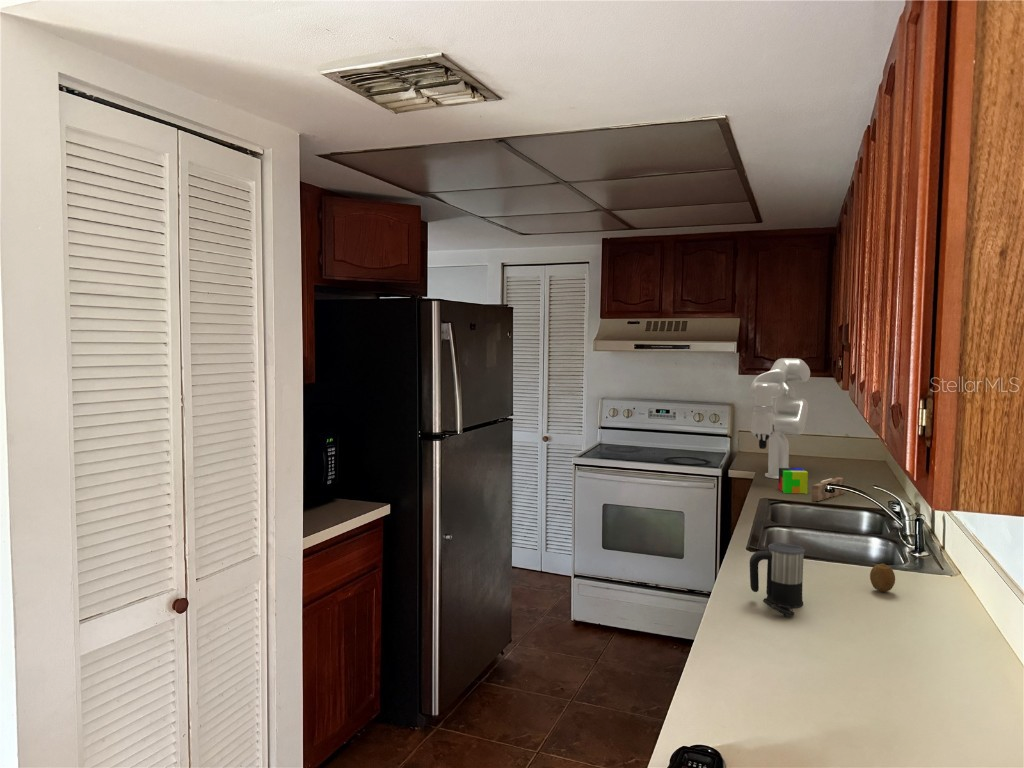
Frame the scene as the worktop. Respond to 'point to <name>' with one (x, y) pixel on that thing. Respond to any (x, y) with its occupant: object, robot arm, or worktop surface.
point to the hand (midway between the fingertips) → (762, 448)
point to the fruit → (882, 577)
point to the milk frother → (780, 576)
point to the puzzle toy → (793, 480)
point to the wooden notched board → (820, 493)
